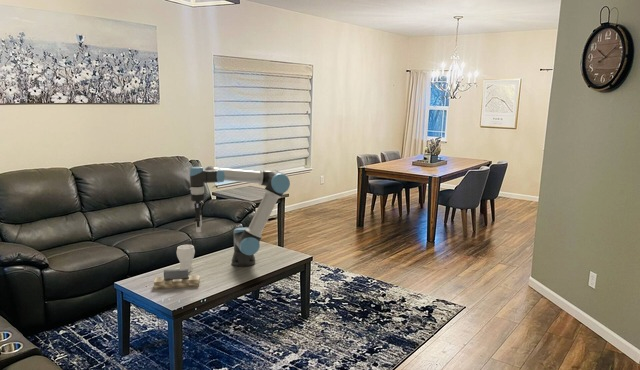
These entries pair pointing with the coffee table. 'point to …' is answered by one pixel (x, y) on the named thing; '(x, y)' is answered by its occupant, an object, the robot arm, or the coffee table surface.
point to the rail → (177, 282)
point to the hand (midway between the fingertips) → (199, 229)
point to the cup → (185, 256)
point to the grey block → (176, 274)
